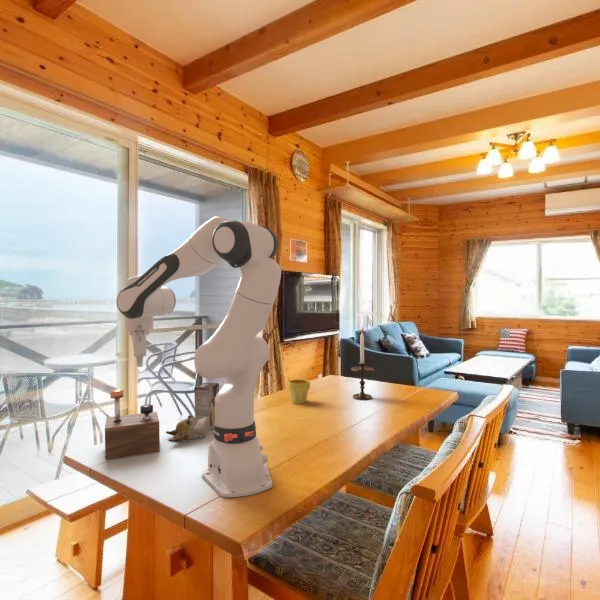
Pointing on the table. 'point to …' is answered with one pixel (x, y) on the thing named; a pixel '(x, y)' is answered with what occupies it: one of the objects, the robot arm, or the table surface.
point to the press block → (131, 436)
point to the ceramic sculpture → (189, 429)
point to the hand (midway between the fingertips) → (139, 366)
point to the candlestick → (362, 371)
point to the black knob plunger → (146, 410)
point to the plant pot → (298, 390)
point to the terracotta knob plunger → (117, 402)
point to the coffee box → (206, 402)
